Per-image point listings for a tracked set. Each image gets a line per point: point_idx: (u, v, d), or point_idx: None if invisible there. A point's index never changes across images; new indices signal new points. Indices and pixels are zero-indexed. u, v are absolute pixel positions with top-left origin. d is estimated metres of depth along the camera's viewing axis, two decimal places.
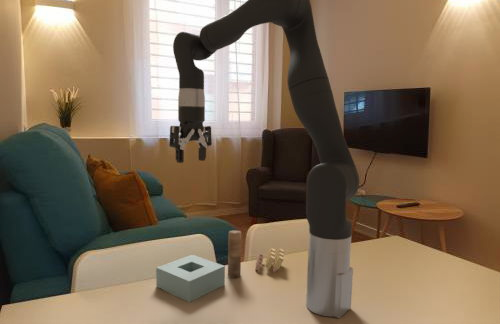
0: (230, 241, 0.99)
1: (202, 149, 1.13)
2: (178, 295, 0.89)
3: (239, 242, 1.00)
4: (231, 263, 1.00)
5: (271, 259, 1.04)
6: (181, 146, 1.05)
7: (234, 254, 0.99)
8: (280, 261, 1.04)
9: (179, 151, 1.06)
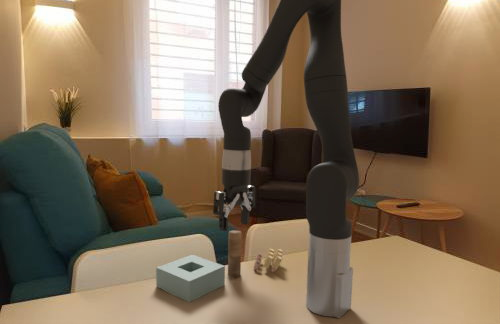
0: (230, 241, 0.99)
1: (245, 212, 1.03)
2: (178, 295, 0.89)
3: (239, 242, 1.00)
4: (231, 263, 1.00)
5: (269, 259, 1.04)
6: (226, 214, 0.95)
7: (234, 254, 0.99)
8: (278, 261, 1.04)
9: (223, 219, 0.96)
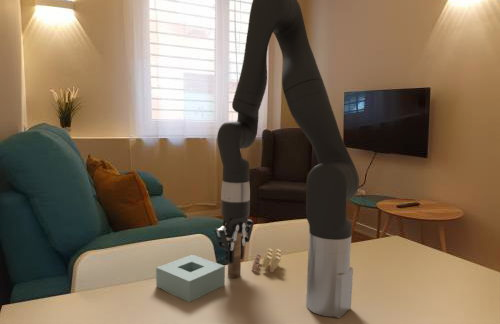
0: None
1: None
2: (178, 295, 0.89)
3: (239, 242, 1.00)
4: None
5: (268, 259, 1.04)
6: (231, 247, 0.98)
7: (234, 254, 0.99)
8: (277, 261, 1.04)
9: (229, 252, 0.98)
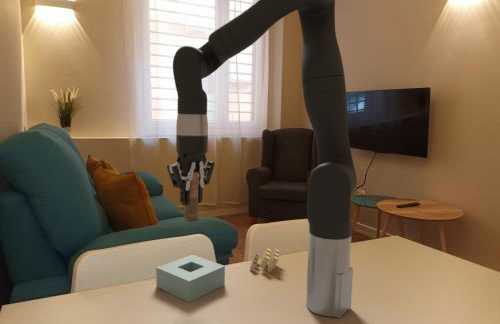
0: None
1: (198, 189, 0.93)
2: (178, 295, 0.89)
3: (196, 182, 0.91)
4: (187, 205, 0.91)
5: (266, 259, 1.04)
6: (187, 186, 0.89)
7: (190, 195, 0.91)
8: (275, 261, 1.03)
9: (184, 192, 0.90)
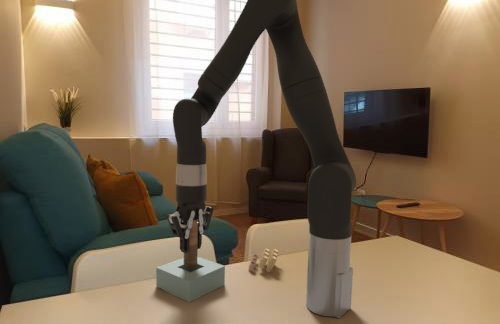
0: None
1: None
2: (178, 295, 0.89)
3: (195, 230, 0.92)
4: None
5: (264, 259, 1.04)
6: (186, 235, 0.91)
7: (189, 242, 0.92)
8: (273, 261, 1.03)
9: (184, 240, 0.91)
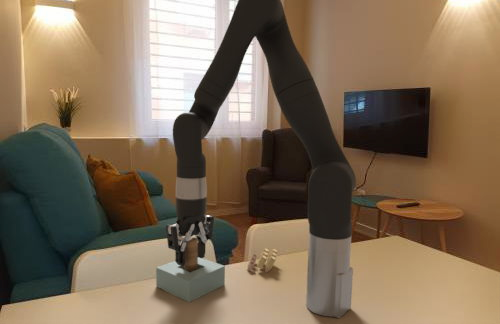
0: (185, 249, 0.93)
1: (201, 245, 0.96)
2: (178, 295, 0.89)
3: (195, 250, 0.93)
4: None
5: (263, 259, 1.04)
6: (182, 247, 0.90)
7: (189, 263, 0.93)
8: (272, 261, 1.03)
9: (179, 253, 0.90)
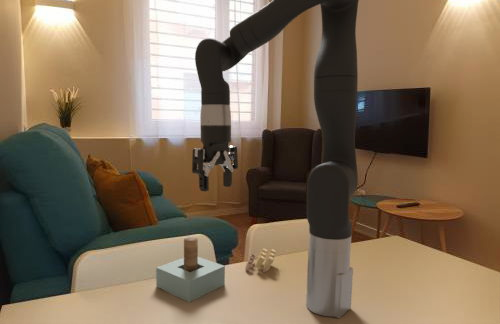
0: (185, 249, 0.93)
1: (228, 173, 0.97)
2: (178, 295, 0.89)
3: (195, 250, 0.93)
4: None
5: (261, 259, 1.04)
6: (206, 172, 0.90)
7: (189, 263, 0.93)
8: (270, 261, 1.03)
9: (203, 178, 0.90)
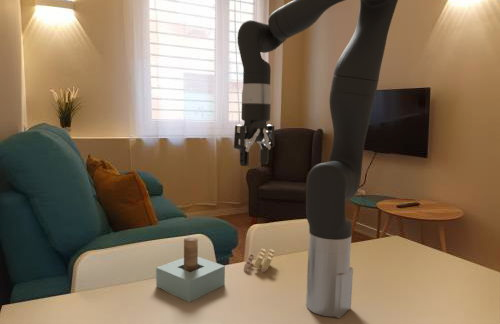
0: (185, 249, 0.93)
1: (265, 151, 1.02)
2: (178, 295, 0.89)
3: (195, 250, 0.93)
4: None
5: (259, 259, 1.04)
6: (247, 148, 0.95)
7: (189, 263, 0.93)
8: (268, 261, 1.03)
9: (244, 153, 0.95)
